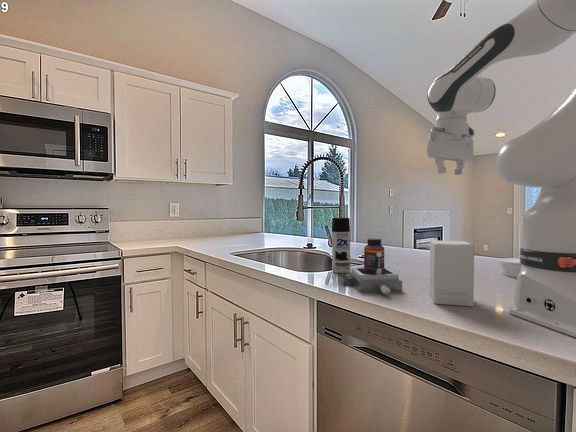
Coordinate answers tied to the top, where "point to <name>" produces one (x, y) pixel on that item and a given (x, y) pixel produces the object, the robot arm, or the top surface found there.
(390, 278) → the grey square tray
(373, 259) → the supplement bottle
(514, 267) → the ramekin
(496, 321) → the top surface
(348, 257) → the spray can
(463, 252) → the supplement box
